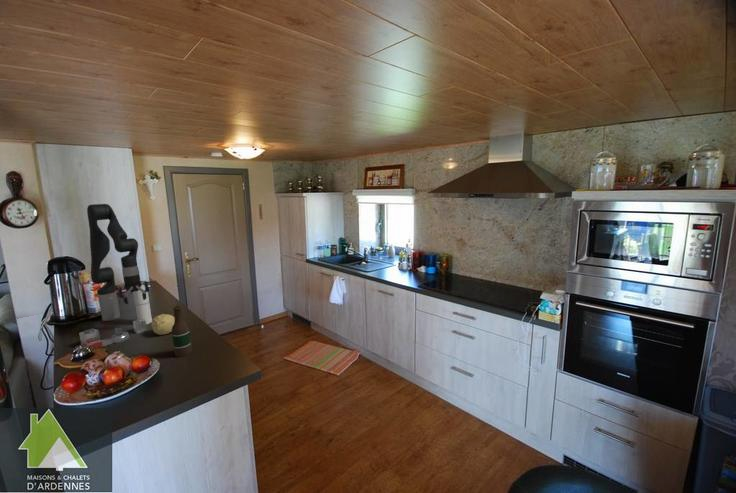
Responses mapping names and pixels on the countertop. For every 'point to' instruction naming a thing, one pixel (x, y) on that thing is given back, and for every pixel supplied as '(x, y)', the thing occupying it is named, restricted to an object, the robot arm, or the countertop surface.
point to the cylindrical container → (142, 306)
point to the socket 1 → (89, 336)
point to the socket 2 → (139, 325)
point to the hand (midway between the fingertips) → (135, 301)
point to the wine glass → (109, 339)
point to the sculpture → (163, 324)
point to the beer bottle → (180, 334)
